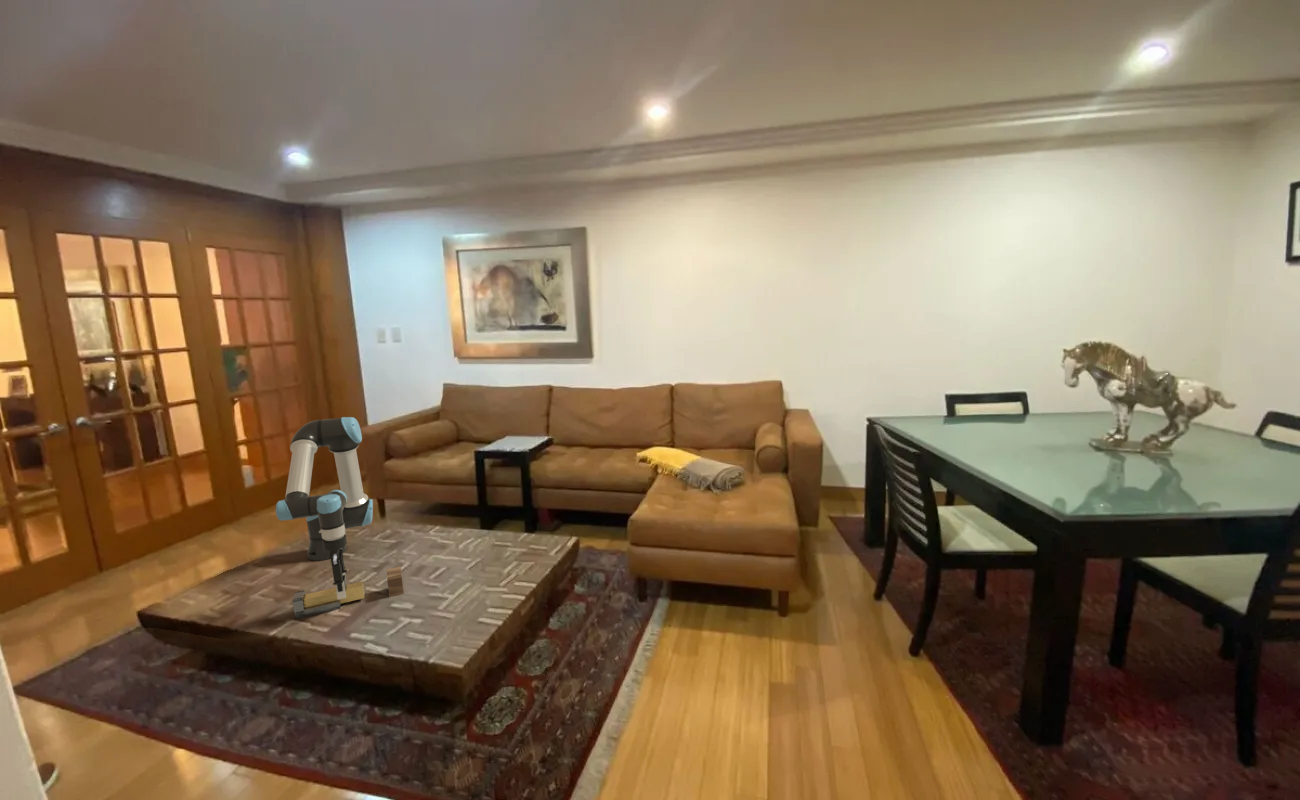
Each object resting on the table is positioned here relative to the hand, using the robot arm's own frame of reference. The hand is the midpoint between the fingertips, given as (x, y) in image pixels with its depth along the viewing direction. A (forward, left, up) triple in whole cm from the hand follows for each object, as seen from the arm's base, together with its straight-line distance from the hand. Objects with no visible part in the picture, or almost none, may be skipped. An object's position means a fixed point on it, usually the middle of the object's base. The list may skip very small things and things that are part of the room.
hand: (342, 594), depth 197 cm
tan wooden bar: (0, -4, -3) cm, 5 cm away
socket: (0, +18, -4) cm, 18 cm away
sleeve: (0, -8, -4) cm, 9 cm away
